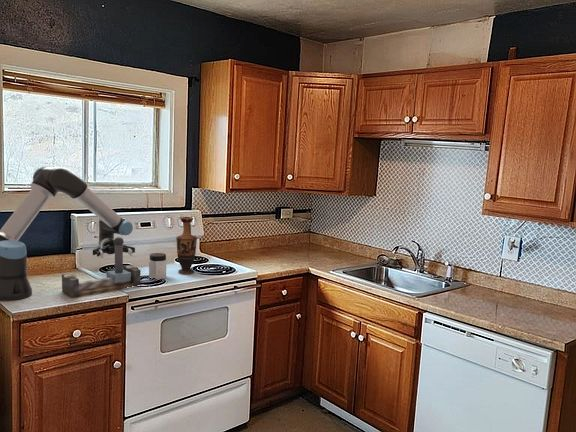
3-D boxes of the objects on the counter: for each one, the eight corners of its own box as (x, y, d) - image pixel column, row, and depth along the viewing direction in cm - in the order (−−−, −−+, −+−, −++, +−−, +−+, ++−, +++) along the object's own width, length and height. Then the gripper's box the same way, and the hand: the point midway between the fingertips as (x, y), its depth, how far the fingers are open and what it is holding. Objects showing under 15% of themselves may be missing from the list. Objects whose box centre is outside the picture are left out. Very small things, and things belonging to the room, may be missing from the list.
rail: (69, 298, 211) (69, 279, 210) (59, 291, 220) (59, 273, 219) (142, 285, 235) (142, 268, 234) (130, 280, 243) (130, 263, 242)
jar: (151, 280, 245) (151, 256, 244) (146, 276, 252) (146, 253, 250) (168, 278, 250) (169, 255, 248) (163, 274, 257) (163, 252, 255)
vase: (192, 275, 256) (192, 219, 252) (172, 274, 258) (173, 218, 254) (199, 271, 267) (200, 216, 263) (180, 269, 269) (181, 215, 265)
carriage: (114, 283, 227) (114, 239, 224) (106, 279, 233) (106, 236, 230) (131, 280, 232) (131, 237, 229) (122, 276, 239) (122, 234, 236)
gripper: (134, 251, 262) (143, 260, 244) (84, 254, 250) (89, 263, 232) (134, 237, 261) (143, 245, 243) (83, 240, 249) (89, 248, 231)
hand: (117, 254), depth 237 cm, fingers open, 13 cm apart
